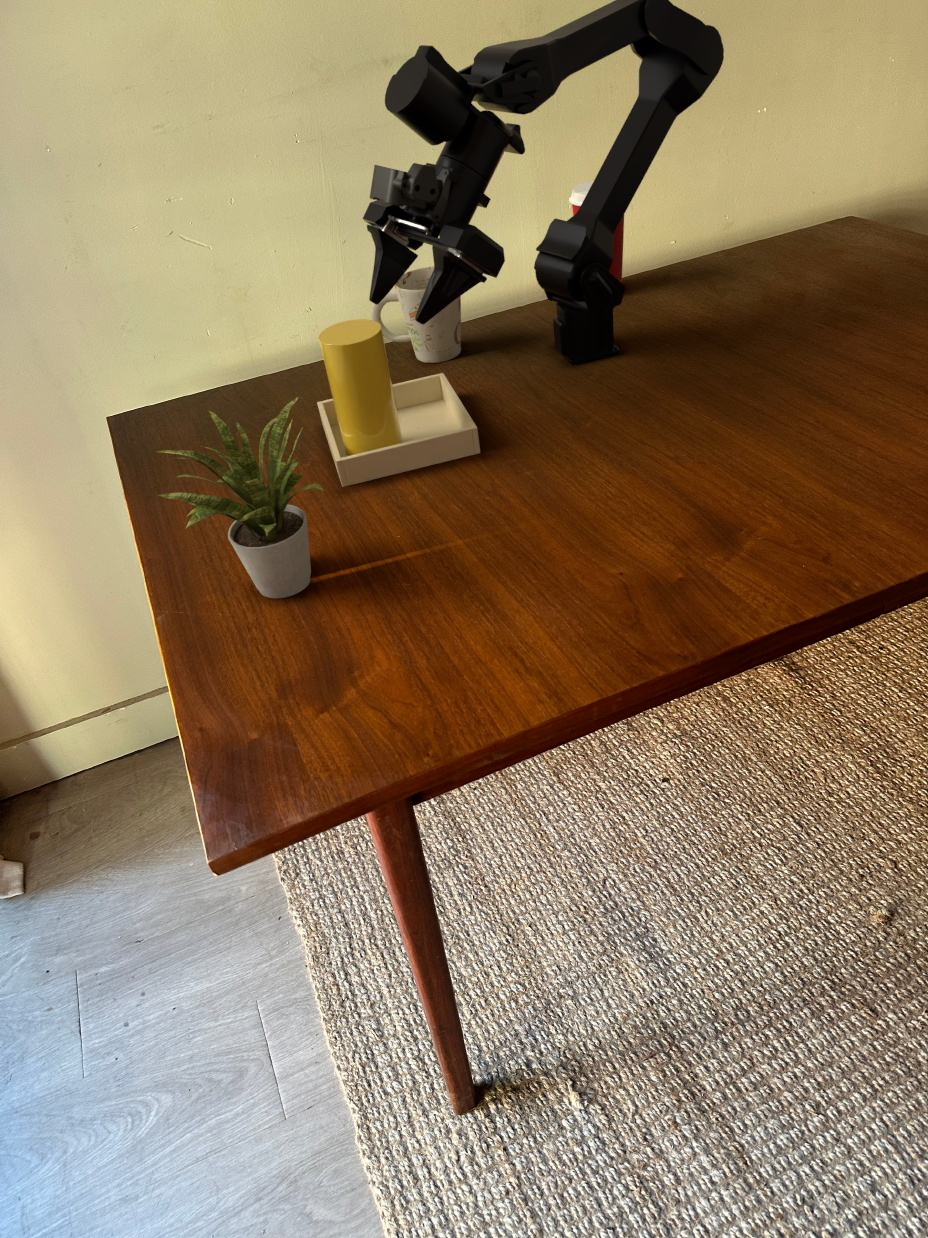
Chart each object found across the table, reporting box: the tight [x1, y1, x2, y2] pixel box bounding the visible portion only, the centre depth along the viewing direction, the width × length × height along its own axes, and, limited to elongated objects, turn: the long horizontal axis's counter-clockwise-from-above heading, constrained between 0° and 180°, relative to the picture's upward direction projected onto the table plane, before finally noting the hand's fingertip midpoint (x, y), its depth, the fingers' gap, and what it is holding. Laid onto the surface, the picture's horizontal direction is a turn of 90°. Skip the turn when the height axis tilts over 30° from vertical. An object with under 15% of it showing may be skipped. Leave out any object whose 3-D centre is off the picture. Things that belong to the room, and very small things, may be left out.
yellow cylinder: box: [317, 318, 403, 457], centre depth 96 cm, size 6×6×14 cm
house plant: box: [154, 396, 326, 599], centre depth 81 cm, size 14×14×16 cm
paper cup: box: [568, 180, 625, 284], centre depth 126 cm, size 8×8×14 cm
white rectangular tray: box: [316, 372, 481, 488], centre depth 102 cm, size 15×15×4 cm
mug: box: [370, 265, 462, 364], centre depth 119 cm, size 8×13×10 cm, turn 78°
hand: (395, 312), depth 97 cm, fingers open, 9 cm apart
